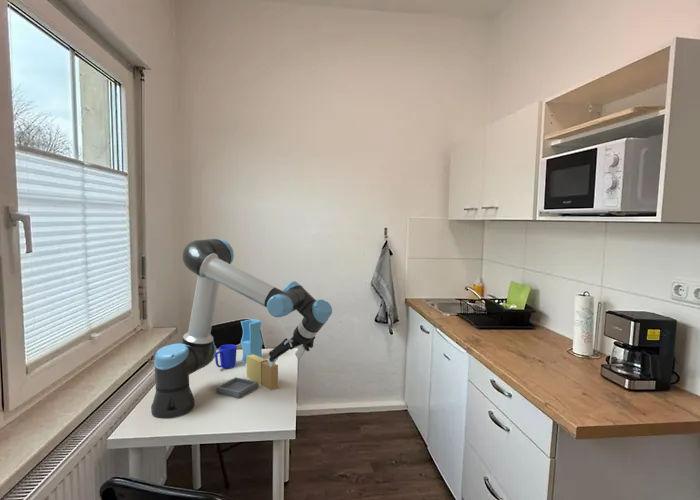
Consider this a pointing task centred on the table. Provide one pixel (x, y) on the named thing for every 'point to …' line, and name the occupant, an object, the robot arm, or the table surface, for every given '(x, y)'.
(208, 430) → the table surface
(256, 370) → the grey-ended yellow block
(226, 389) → the tray
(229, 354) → the mug
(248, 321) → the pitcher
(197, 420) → the table surface
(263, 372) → the stub
